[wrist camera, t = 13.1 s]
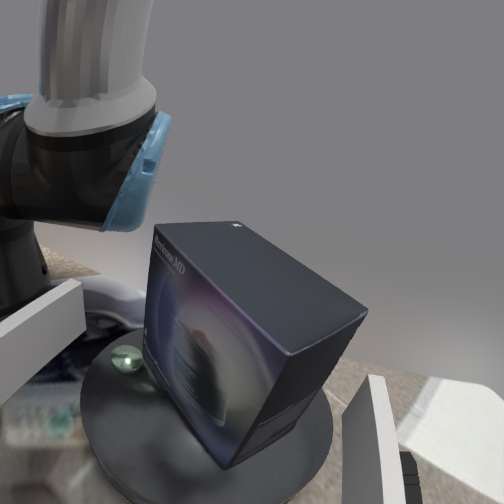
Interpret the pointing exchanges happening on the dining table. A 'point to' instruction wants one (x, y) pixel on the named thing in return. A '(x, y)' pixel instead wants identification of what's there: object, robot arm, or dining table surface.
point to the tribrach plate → (185, 440)
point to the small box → (239, 334)
